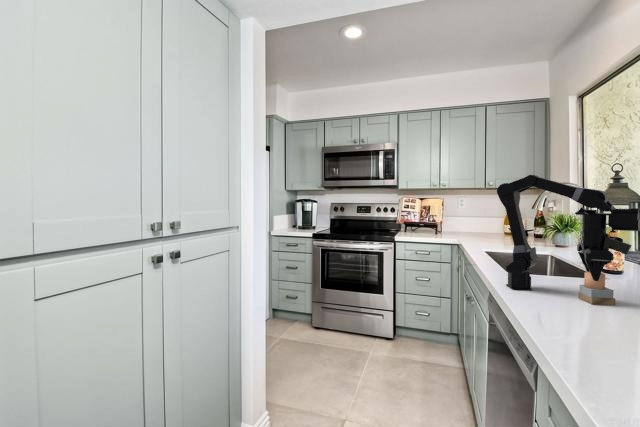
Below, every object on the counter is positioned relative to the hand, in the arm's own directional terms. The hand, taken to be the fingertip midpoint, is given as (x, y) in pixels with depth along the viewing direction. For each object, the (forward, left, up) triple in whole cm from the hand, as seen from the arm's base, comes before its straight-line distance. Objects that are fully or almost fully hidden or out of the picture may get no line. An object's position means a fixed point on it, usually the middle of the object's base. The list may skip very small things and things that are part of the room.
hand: (593, 277), depth 102 cm
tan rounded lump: (0, 0, -3) cm, 3 cm away
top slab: (+1, 0, -6) cm, 6 cm away
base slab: (+1, -1, -8) cm, 8 cm away
